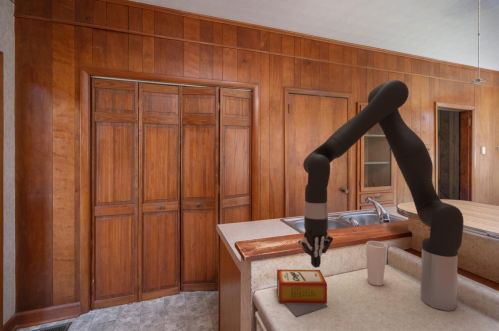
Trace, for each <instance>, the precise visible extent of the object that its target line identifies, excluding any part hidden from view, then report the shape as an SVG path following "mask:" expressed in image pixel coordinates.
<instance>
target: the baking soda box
mask: <svg viewBox="0 0 499 331" xmlns="http://www.w3.org/2000/svg"><path fill="white" fill-rule="evenodd" d="M276 290H277V295H278V296H277V298H278V303H279V304H280V303H282V304H283V303H325V304H327V303H328V283H327V281H326V279H325V278H324V276H323V273H322V271H321V269H276Z"/></svg>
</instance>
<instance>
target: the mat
mask: <svg viewBox="0 0 499 331" xmlns="http://www.w3.org/2000/svg"><path fill="white" fill-rule="evenodd" d="M282 304H283V305H284V306H285V307H286V308H287V310H289V312H291V313H292V314H293V316H294V317H295V318H298V317H301V316H305V315H307V314H311V313H314V312H317V311H318V310H319V311H320V310H323V309H325V308H328V304H327V303H282Z"/></svg>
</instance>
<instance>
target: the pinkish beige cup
mask: <svg viewBox="0 0 499 331" xmlns="http://www.w3.org/2000/svg"><path fill="white" fill-rule="evenodd" d="M365 245H366V247H365V252H366V253H365V255H366V268H367V270H366V271H367V281H368V283H370V284H371V285H373V286H378V287H380V286H382V285H384V277H385V269H386V260H387V244H385V243H384V242H381V241H378V240H368V241H366V244H365Z"/></svg>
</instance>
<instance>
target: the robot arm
mask: <svg viewBox="0 0 499 331" xmlns="http://www.w3.org/2000/svg"><path fill="white" fill-rule="evenodd" d="M408 98H409V88H408V86H407V84H406V83H405V82H403V81H402V80H398V79H391V80H387V81H385V82H383V83H381V84H380V85H378V86H376V87H375V88H373V89H372V90H371V91H370V92H369V93H368V97H367V105H365V107H363V108H362V110H360V111H359V112H358V113H356V114H355V115H354V116H353V117H352V118H350V119H349V120H348V121H346V122H345V123H344V124H342V126H340V127H339V128H338V129H337V130H336V131H334V132H333V133H332V134H331V135H330V136H329V137H328V138H327V139H326V141H324V142H323V143H322V144H321V145H319V146H318V147H317V148H315V149H314V150H313V151H312V152H310V153H309V154H307V156H306V157H305V159H304V160H303V164H302V166H303V170H304V172H306V173H307V184H306V185H305V189H304V190H305V191H304V205H303V206H304V209H303V211H304V214H303V215H304V216H303V217H304V218H303V220H304V224H303V225H304V226H303V227H304V234H303V238H302V240H301V239H299V240H298V241H297V243H298V245H299V246H300V247H301V248H302V250H303V251H304V252H305V254H307V255H308V256H309V257H310V264H311V265H312V267H313V268H314V269H315V268H320V265H322V264H321V262H322V261H321V259H322V258H321V257H322V255H323V254H326V253H327V251H328V249H329V248H330V246H331V244H332V242H333V241H334V237H332V236H330V235H329V234H328V228H329V206H328V186H329V180H330V178H331V177H330V175H331V164H330V163H332V162H333V161H334V160H335V159H338V158H341V157H342V156H344V155H345V154H346V153H347V152H348V151H349V149H351V148H353V146H354V145H355V144H356V143H357V142H358V141H359V140H361V138H362V137H363V136H364V135H365V134H367V133H368V132H369V131H370V130H371V129H372V128H373V127H375V126H376V125H377V124H378V125H379V127H380V128H381V131H382V132H383V134H384V137H385V139H386V141H387V143H388V146H389V148H390V150H391V153H392V155H393V158H394V160H395V162H396V165H397V166H398V168H399V170H400V173H401V175H402V177H403V180H404V182H405V183H406V185H407V188H408V190H409V192H410V194H411V197H412V200H413V204H414V206H415V210H416V213H417V217H418V218H419V220H420V221H421V222H422V224H424V225H425V226H426V227H429V228H430V230H429V237H427V238H426V237H425V238H423V239H422V241H421V242H422V243H421V267H420V268H421V269H420V270H421V273H420V299H421V301H422V302H424V303H425V304H426V305H427V306H430V307H432V308H434V309H438V310H442V311H449V312H450V311H453V310H456V307H457V306H456V305H457V298H458V297H457V296H458V295H457V293H458V292H457V290H458V259H459V258H458V257H459V256H458V255H459V250H460V248H461V246H462V242H463V235H464V234H463V233H464V215H463V213H462V211H461V209H459V208H458V207H457V206H455V205H453V204H449V203H446V202H444V201H442V200H441V198H440V196H439V195H438V193H437V191H436V189H435V186H434V183H433V168H434V165H433V160H432V158H431V155H430V153H429V150H428V148H427V147H426V144H425V143H424V141H423V140H422V138H420V137H419V135H418V134H417V133H416V132H414V130H413V129H411V128H410V127H409V126H408V125H407V124H406V122H405V121H404V119H403V117H402V115H401V114H400V111H399V108H401V107H402V106H404V104H406V102H407V100H408Z"/></svg>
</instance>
